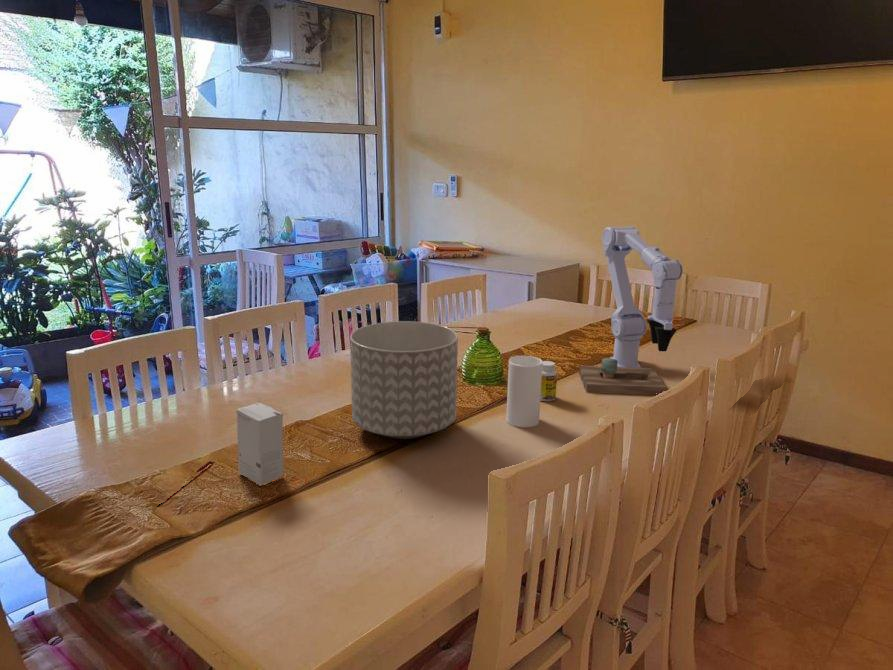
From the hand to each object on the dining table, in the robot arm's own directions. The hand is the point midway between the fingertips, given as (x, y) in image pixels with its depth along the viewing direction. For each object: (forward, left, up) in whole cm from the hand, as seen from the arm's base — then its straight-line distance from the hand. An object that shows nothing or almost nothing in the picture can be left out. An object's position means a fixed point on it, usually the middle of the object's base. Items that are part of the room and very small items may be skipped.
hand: (659, 347), depth 194 cm
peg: (+4, -15, -10) cm, 18 cm away
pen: (+72, -111, -11) cm, 132 cm away
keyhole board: (+4, -11, -10) cm, 16 cm away
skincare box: (+68, -96, -11) cm, 118 cm away
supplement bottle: (+18, -34, -11) cm, 40 cm away
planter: (+42, -70, -11) cm, 82 cm away
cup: (+34, -41, -11) cm, 54 cm away
